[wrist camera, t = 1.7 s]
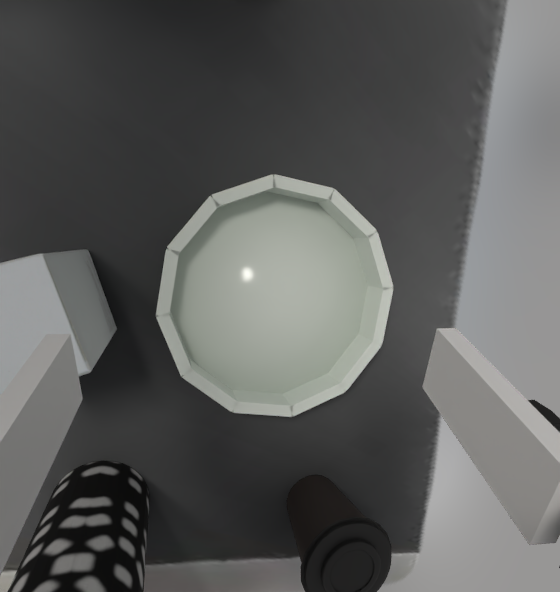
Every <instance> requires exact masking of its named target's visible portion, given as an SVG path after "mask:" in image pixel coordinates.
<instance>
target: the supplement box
mask: <svg viewBox="0 0 560 592" xmlns="http://www.w3.org/2000/svg"><path fill="white" fill-rule="evenodd" d="M116 330H117V327H116V325H115V322H114V319H113V316H112V314H111V311H110V308H109V306H108V303H107V300H106V297H105V295H104V292H103V289H102V286H101V283H100V281H99V278H98V275H97V272H96V269H95V267H94V264H93V261H92V258H91V256H90V253H89V251H88V250H87V249H82V250H72V251H64V252H54V253H44V254H42V253H41V254H35V255H31V256H27V257H23V258H18V259H14V260H10V261H6V262H2V263H0V396H1V394H2V393H3V392H4V390H5V389H6V388H7V386H8V385H9V384H10V382H11V381H12V380H13V378H14V377H15V376H16V374H17V373H18V371H19V370H20V369H21V367H22V366H23V365H24V363H25V362H26V361H27V359H28V358H29V357H30V355H31V354H32V353H33V351H34V350H35V349H36V347H37V346H38V345H39V343H40V342H41V341H42V339H43V338H44V337H45V335H46V334H71V339H72V344H73V350H74V355H75V360H76V366H77V371H78V376H82V375H85V374H88V373H90V372H91V371H92V369H93V368H94V366H95V364H96V363H97V361H98V359H99V358H100V356H101V354H102V353H103V351H104V350H105V348H106V346H107V345H108V343H109V341H110V340H111V338H112V336H113V335H114V333H115V332H116Z"/></svg>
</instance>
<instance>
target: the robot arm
mask: <svg viewBox="0 0 560 592" xmlns="http://www.w3.org/2000/svg"><path fill="white" fill-rule="evenodd" d="M422 388H423V389H424V391H425V392H426V393H427V395H428V396H429V398H430V399H431V401H432V402H433V404H434V405H435V407H436V408H437V410H438V411H439V413H440V414H441V416H442V417H443V419H444V420H445V421H446V423H447V424H448V426H449V427H450V429H451V430H452V432H453V433H454V435H455V436H456V438H457V439H458V441H459V442H460V444H461V445H462V447H463V448H464V449H465V451H466V452H467V454H468V455H469V456H470V458H471V460H472V461H473V463H474V464H475V465H476V467H477V469H478V470H479V471H480V473H481V474H482V476H483V477H484V479H485V480H486V482H487V483H488V485H489V486H490V488H491V489H492V491H493V492H494V494H495V495H496V496H497V498H498V500H499V501H500V503H501V504H502V505H503V507H504V508H505V510H506V511H507V513H508V514H509V515H510V517H511V519H512V520H513V522H514V523H515V525H516V526H517V528H518V529H519V531H520V532H521V534H522V535H523V536H524V538H525V539H526V541H527V542H528V544H529V545H536V544H546V543H556V541H557V539H558V537H559V535H560V419H559V418H558V417H557V416H556V415H555V414H554V413H553V412H552V411H551V410H549V409H548V408H546V407H545V406H543V405H541V404H540V403H538V402H537V401H535V400H527V399H526V398H525V397H524V396H523V395H522V394H521V393H520V392H519V391H518V390H517V389H516V388H515V387H514V386H513V385H512V384H511V383H510V382H509V381H508V380H507V379H506V378H505V377H504V376H503V375H502V374H501V373H500V372H499V371H498V370H497V369H496V368H495V367H494V366H493V365H492V364H491V363H490V362H489V361H488V360H487V359H486V358H485V357H484V356H483V355H482V354H481V353H480V352H479V351H478V350H477V349H476V348H475V347H474V346H473V345H472V344H471V343H470V342H469V341H468V340H467V339H466V338H465V337H464V336H463V335H462V334H461V333H460V332H459V331H458V330H457V329H456V328H442V329H437V330H436V334H435V339H434V343H433V347H432V351H431V355H430V359H429V363H428V367H427V371H426V375H425V379H424V383H423V387H422ZM82 400H83V397H82V392H81V387H80V382H79V376H78V371H77V366H76V360H75V355H74V350H73V344H72V339H71V334H46V335H45V337H44V338H43V339H42V341H41V342H40V343H39V345H38V346H37V347H36V349H35V350H34V351H33V353H32V354H31V355H30V357H29V358H28V359H27V361H26V362H25V363H24V365H23V366H22V367H21V369H20V370H19V371H18V373H17V374H16V376H15V377H14V378H13V380H12V381H11V382H10V384H9V385H8V386H7V388H6V389H5V390H4V392H3V393H2V394H1V396H0V575H1V573H2V570H3V568H4V566H5V564H6V562H7V560H8V558H9V555H10V553H11V551H12V549H13V547H14V545H15V543H16V541H17V538H18V536H19V534H20V532H21V530H22V528H23V526H24V523H25V521H26V519H27V517H28V515H29V513H30V511H31V508H32V506H33V504H34V502H35V500H36V498H37V496H38V494H39V491H40V489H41V487H42V485H43V483H44V481H45V479H46V476H47V474H48V472H49V470H50V468H51V466H52V464H53V461H54V459H55V457H56V455H57V453H58V451H59V449H60V447H61V444H62V442H63V440H64V438H65V436H66V434H67V432H68V429H69V427H70V425H71V423H72V421H73V419H74V417H75V414H76V412H77V410H78V408H79V406H80V404H81V402H82ZM559 568H560V567H559Z"/></svg>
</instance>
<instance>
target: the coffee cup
mask: <svg viewBox="0 0 560 592" xmlns="http://www.w3.org/2000/svg"><path fill="white" fill-rule="evenodd" d="M287 510H288V514H289V517H290V521H291V525H292V529H293V532H294V536H295V540H296V544H297V547H298V551H299V555H300V559H301V562H302V565H301V582H302V585H303V587H304V590H305V592H377V591H378V590H379V588H380V587H381V586H382V584H383V583H384V581H385V579H386V577H387V575H388V572H389V569H390V565H391V544H390V541H389V538H388V535H387V533H386V532H385V530H384V529H383V528H382V527H381V526H380V524H378V523H376V522H374V521H372V520H370V519H368V518H366V517H365V516H364V515H363V514H362V513H361V512H360V511H359V510H358V509H357V508H356V507H355V506H354V505H353V504H352V503H351V502H350V501H349V500H348V499H347V498H346V497H345V495H344V494H343V493H342V492H341V491H340V490H339V489H338V488H337V487H336V486H335V485H334V484H333V483H332V482H331V481H330V480H329V479H328V478H326V477H324V476H320V475H311V476H307V477H305V478H303V479H301V480H299V481H298V482H297V483H296V484H295V485H294V486H293V487H292V489H291V491H290V492H289V495H288V498H287Z"/></svg>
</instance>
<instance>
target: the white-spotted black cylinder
mask: <svg viewBox="0 0 560 592" xmlns="http://www.w3.org/2000/svg"><path fill="white" fill-rule="evenodd" d="M148 515H149V492H148V488H147V485H146V483H145V481H144V480H143V478H142V477H141V476H140V475H139V474H138V472H136V471H135V470H134V469H132V468H131V467H129V466H127V465H124V464H122V463H118V462H114V461H97V462H91V463H88V464H85V465H82V466H80V467H78V468H76V469H74V470H73V471H71V472H70V473H69V474H67V475H66V476H65V477H64V478H63V479H62V480H61V481H60V482H59V483H58V485H57V486H56V488H55V489H54V491H53V493H52V495H51V498H50V500H49V502H48V504H47V506H46V509H45V511H44V513H43V515H42V517H41V520H40V522H39V524H38V526H37V528H36V531H35V533H34V535H33V537H32V539H31V542H30V544H29V546H28V548H27V550H26V553H25V555H24V557H23V559H22V561H21V564H20V566H19V568H18V570H17V572H16V574H15V577H14V579H13V581H12V583H11V585H10V588H9V590H8V592H143V589H144V575H145V560H146V545H147V530H148Z"/></svg>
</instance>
